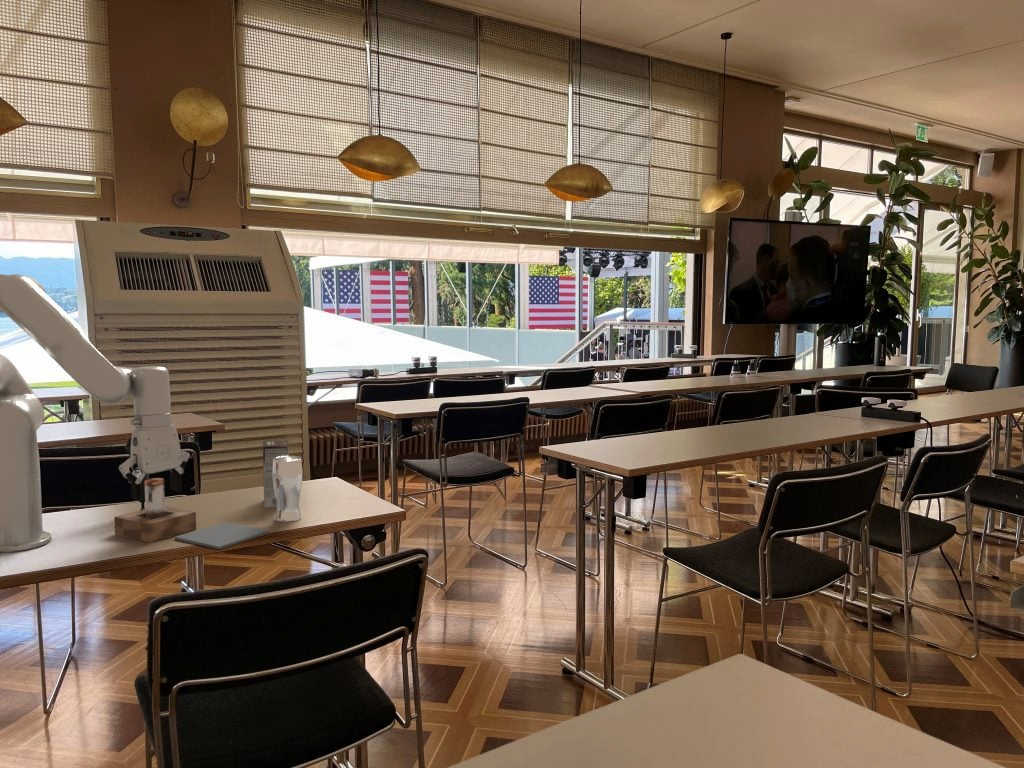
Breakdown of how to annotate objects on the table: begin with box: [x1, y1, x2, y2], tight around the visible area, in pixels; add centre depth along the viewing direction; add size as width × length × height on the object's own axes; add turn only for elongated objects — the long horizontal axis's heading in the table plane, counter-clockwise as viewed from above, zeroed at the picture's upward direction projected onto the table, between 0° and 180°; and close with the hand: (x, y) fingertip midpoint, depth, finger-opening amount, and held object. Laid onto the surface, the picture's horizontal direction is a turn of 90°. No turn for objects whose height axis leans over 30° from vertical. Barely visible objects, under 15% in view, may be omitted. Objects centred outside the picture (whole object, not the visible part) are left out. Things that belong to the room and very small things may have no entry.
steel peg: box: [144, 477, 166, 519], centre depth 172 cm, size 4×4×12 cm
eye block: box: [113, 505, 197, 543], centre depth 172 cm, size 12×12×4 cm
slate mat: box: [174, 521, 270, 550], centre depth 169 cm, size 14×14×1 cm
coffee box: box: [262, 439, 290, 509], centre depth 199 cm, size 9×6×16 cm
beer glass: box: [273, 455, 303, 523], centre depth 183 cm, size 7×7×15 cm
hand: (157, 495), depth 172 cm, fingers open, 9 cm apart
